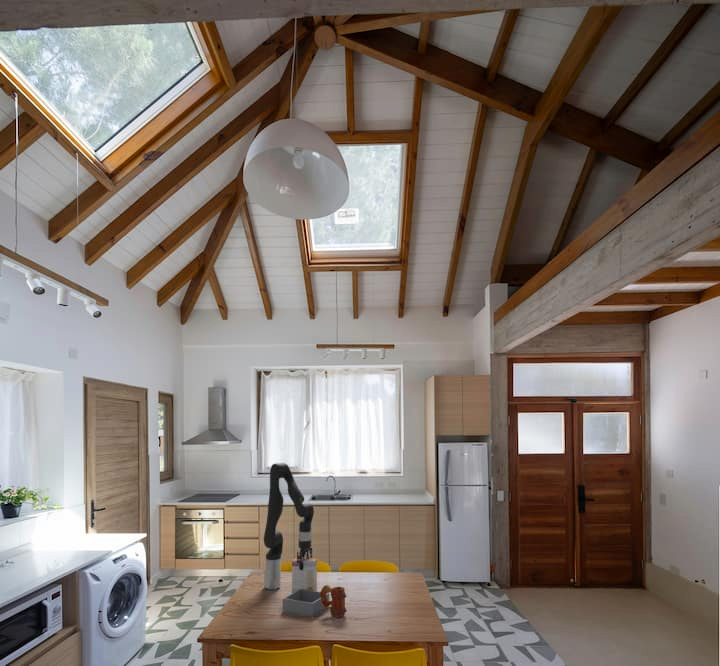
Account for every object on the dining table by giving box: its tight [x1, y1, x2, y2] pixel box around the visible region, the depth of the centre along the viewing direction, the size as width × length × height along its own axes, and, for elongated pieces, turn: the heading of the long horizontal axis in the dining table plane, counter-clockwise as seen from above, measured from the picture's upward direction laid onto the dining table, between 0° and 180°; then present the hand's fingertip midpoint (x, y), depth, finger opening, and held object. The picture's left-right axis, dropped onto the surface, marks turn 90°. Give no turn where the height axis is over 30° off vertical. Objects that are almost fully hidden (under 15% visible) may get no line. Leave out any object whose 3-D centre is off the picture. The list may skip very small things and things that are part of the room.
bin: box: [282, 589, 330, 618], centre depth 307 cm, size 19×19×7 cm
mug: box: [320, 584, 348, 619], centre depth 299 cm, size 15×8×15 cm, turn 71°
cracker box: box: [291, 557, 318, 594], centre depth 330 cm, size 14×6×21 cm, turn 84°
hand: (304, 568), depth 330 cm, fingers closed on cracker box, 7 cm apart
